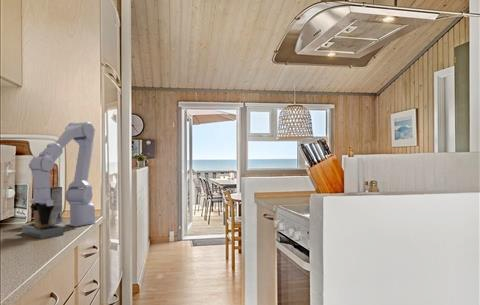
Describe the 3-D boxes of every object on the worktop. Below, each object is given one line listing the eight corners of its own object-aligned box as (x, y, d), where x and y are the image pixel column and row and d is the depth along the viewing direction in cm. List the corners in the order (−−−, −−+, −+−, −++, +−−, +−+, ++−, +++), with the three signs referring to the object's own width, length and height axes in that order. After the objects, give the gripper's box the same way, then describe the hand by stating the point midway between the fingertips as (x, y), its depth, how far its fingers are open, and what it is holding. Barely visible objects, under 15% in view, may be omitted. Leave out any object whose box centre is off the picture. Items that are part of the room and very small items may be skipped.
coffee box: (35, 224, 161) (34, 187, 161) (47, 221, 167) (46, 186, 167) (51, 225, 158) (51, 187, 158) (63, 222, 164) (62, 186, 164)
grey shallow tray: (43, 229, 148) (43, 222, 148) (63, 234, 137) (63, 226, 137) (22, 233, 142) (22, 225, 142) (41, 238, 131) (40, 230, 131)
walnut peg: (44, 229, 142) (44, 209, 142) (48, 230, 139) (48, 209, 139) (34, 231, 139) (34, 210, 139) (38, 232, 137) (38, 211, 137)
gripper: (22, 188, 141) (23, 223, 141) (38, 189, 132) (39, 227, 132) (42, 186, 146) (42, 220, 146) (58, 188, 137) (59, 224, 137)
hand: (42, 223), depth 139 cm, fingers closed on walnut peg, 3 cm apart
